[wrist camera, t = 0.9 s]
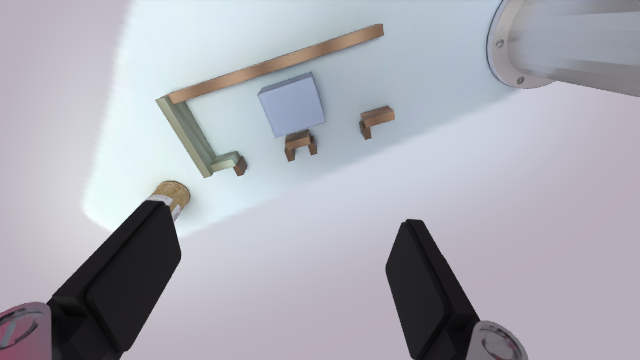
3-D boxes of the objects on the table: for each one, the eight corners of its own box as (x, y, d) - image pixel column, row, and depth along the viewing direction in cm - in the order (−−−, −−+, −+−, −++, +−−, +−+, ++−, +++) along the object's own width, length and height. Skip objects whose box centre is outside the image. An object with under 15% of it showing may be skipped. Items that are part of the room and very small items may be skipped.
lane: (376, 24, 27) (385, 23, 24) (390, 124, 32) (399, 133, 29) (170, 92, 29) (154, 100, 26) (218, 174, 35) (210, 187, 32)
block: (311, 71, 29) (311, 76, 25) (323, 112, 31) (325, 122, 28) (263, 87, 30) (257, 94, 26) (278, 126, 32) (275, 137, 29)
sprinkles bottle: (171, 174, 35) (104, 246, 23) (197, 195, 37) (148, 271, 25) (150, 191, 36) (77, 267, 24) (177, 211, 38) (121, 290, 26)
